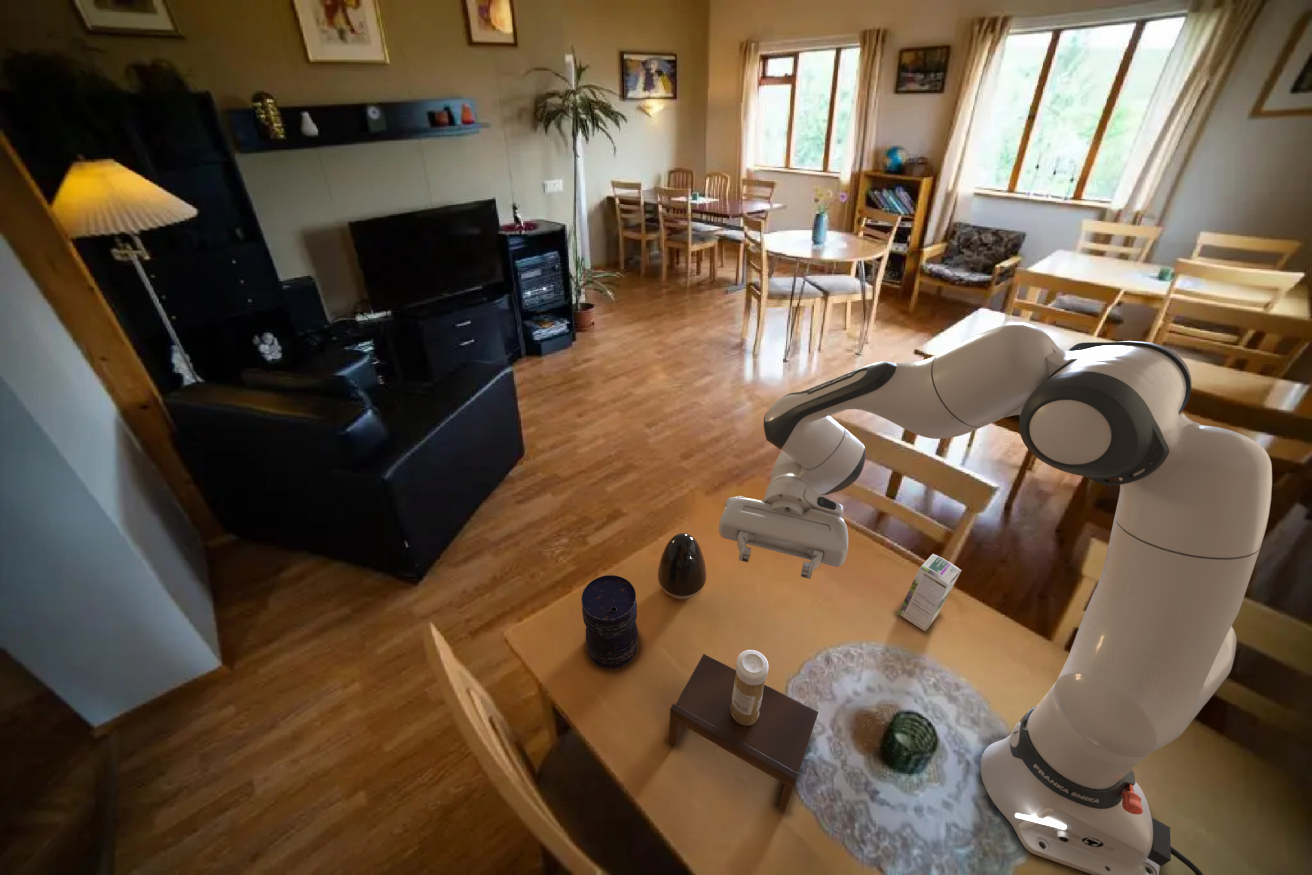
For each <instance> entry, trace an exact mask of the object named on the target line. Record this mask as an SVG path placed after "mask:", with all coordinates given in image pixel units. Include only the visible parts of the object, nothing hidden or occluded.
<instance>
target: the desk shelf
mask: <svg viewBox="0 0 1312 875" xmlns="http://www.w3.org/2000/svg"><path fill="white" fill-rule="evenodd" d="M735 677H736V668H733V667H731V666H729V665H727V664H725V663H724V662H721V661H720V660H717V659H715V658H713V657H711V656H710V655H707V654H705V653H703V654H702V656H701V658H700V660H699V661H698V663H697V664H696V667H695V669H694V670H693V672H692V674H691V675H690V677H689V679H688V681H687V683H686V685H685V687H684V688H683V690H682V692H681V694H680V695H679V697H678V699H677V701H676V703H672V705H671V706H670V709H669V743H671V744H673V745H674V746H677V744H678V742H679V740H680V738H681V736H682V734H683V733H684V730H685V729H686V728H687V729H689V730H690V731H692V732H694V733H695V734H697V735H699V736H701V737H702V738H704V739H705V740H708V741H709V742H711V743H713V744H715V745H716V746H717V747H720V748H722V749H723V750H725V751H727V752H728V753H730V754H733V756H735V757H737V758H739V759H740V760H742V761H744V762H745V763H748V764H750V765H751V766H753V767H755V768H756V769H757V770H759V771H762V772H763V773H765V774H766V775H769V776H770V777H771V778H774V779H775V780H777V781H779V782H781V783H782V784H784V786H783V789H782V792H781V796H780V798H779V801H778V805H777V808H779V809H781V810H782V811H784V812H786V811H787V808H788V806H789V802H790V799H791V796H792V794H793V790H794V787H795V785H796V782H797V779H798V776H799V773H800V770H801V767H802V764H803V760H804V757H805V754H806V752H807V748H808V745H809V743H810V739H811V736H812V733H813V730H814V727H815V724H816V722H817V718H818V716H819V710H816V709H814V708H812V707H810V706H808V705H807V704H804V703H802V702H800V701H799V700H796V699H794V698H792V697H790V696H788V695H786V694H784V693H783V692H780V691H778V690H777V689H774V688H773V687H770V686H768V685H766V684H765V683H764V688H763V695H762V701H761V705H760V708H759V717H758V719H757V721H756V722H755V723H754V724H752V725H748V726H745V725H741V724H739V723H737V722H736V721H735V720H734V719H733V717H732V715H731V712H730V707H731V703H732V695H733V688H734V681H735Z"/></svg>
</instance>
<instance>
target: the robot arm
mask: <svg viewBox="0 0 1312 875" xmlns="http://www.w3.org/2000/svg"><path fill="white" fill-rule="evenodd" d="M1192 386H1193V385H1192V376H1191V371H1190V369H1189V368H1188V365H1187V364H1186V362H1185V361H1184V359H1183V358H1182V357H1180V356H1179V355H1178V354H1177V353H1176V352H1175V351H1173V350H1171V349H1170V348H1167V347H1166V346H1163V345H1160V344H1158V343H1153V342H1147V341H1136V340H1134V341H1133V340H1127V341H1125V340H1123V341H1105V342H1104V341H1103V342H1102V341H1101V342H1100V341H1099V342H1096V341H1094V342H1093V341H1091V342H1090V341H1089V342H1088V341H1087V342H1086V341H1085V342H1078V343H1076V344H1074V345H1073V346H1071V347H1070V348H1069V349H1068V350H1064V349H1061V348H1060V347H1059V346H1058V345H1057V344H1056V343H1055V341H1054V340H1053V339H1052V338H1051V336H1049V334H1047V333H1046V332H1045V331H1044V330H1042V329H1041V328H1040V327H1038V326H1035V325H1032V324H1029V323H1026V322H1010V323H1006V324H1003V325H999V326H997V327H995V328H991V329H988V330H986V331H983V332H981V333H978V334H976V335H973V336H971V337H968V338H967V339H964V340H962V341H960V342H959V343H956V344H954V345H952V346H950V347H948V348H947V349H945V350H943V351H941V352H940V353H937V354H936V355H933V356H931V357H928V358H926V359H922V360H915V361H909V362H893V361H892V362H891V361H885V360H881V361H876V362H873V363H870V364H867V365H864V366H861V367H858V368H856V369H854V370H852V371H851V370H850V371H848V372H846V373H844V374H842V375H839V376H836V377H834V378H831V379H829V380H827V381H824V382H822V383H820V384H818V385H815V386H813V387H810V388H808V389H804V390H800V391H795V392H790V393H788V394H786V395H784V396H782V397H781V398H779V399H778V400H776V401H775V402H774V403H773V404H772V405H771V406H770V408H769V409H768V410H767V411H766V413H765V415H764V416H763V430H764V436H765V439H766V441H767V442H769V443H770V444H772V445H773V446H774V447H776V448H777V449H779V450H781V451H780V453H779V454H778V456H777V458H776V459H775V462H774V464H773V467H772V470H771V473H770V476H769V478H770V479H769V483H768V485H767V487H766V489H765V493H764V496H763V500H760V499H755V498H750V497H745V496H742V495H737V496H731V497H727V499H726V501H725V504H724V510H723V512H722V514H721V516H720V518H719V524H718V533H719V535H720V537H721V538H723V539H726V540H730V541H734V542H736V547H737V548H738V551H739V557H738V561H739V562H744V563H749V561H750V558H751V555H752V554H751V552H752V547H750V546H753V547H757V548H761V549H765V550H769V551H772V552H777V553H781V554H784V555H788V556H792V557H796V558H800V559H804V560H808V561H803V562H802V563H803V564H802V567H801V571H800V572H801V573H800V577H802V578H805V579H808V580H811V579H812V575H813V572H814V571H816V570H817V569H818V568H820V567H821V564H823V565H827V566H831V567H835V568H839V567H841V566H843V565H844V564H845V563H846V559H847V557H848V552H849V532H848V531H849V530H848V526H847V523H846V521H845V520H844V519H843V517H844V506H843V505H842V504H840V503H838V502H836V501H835V500H831V499H829V498H827V497H825V496H827V495H831V494H835V493H838V492H841V491H843V490H845V489H847V488H849V487H850V486H851V485H852V484H854V483H855V482H856V481H857V479H859V477H860V475H861V474H862V471H863V470H864V466H865V462H866V456H867V455H866V454H867V453H866V452H867V451H866V447H865V444H864V443H863V442H861V441H860V440H859V438H857V437H856V436H855V435H853V433H851V432H850V431H849V430H848V429H846V428H845V427H844V426H842V424H840V423H839V422H838V421H836V420H835V419H834V418H833V417H832V415H836V414H838V413H842V412H845V411H847V410H859V411H863V412H868V413H870V414H873V415H875V416H877V417H880V418H882V419H885V420H887V421H889V422H891V423H893V424H894V425H897V426H898V427H900V428H902V429H904V430H906V431H908V432H910V433H912V434H915V435H917V436H920V437H923V438H927V439H932V440H942V439H943V440H945V439H952V438H957V437H961V436H963V435H967V434H969V433H972V432H974V431H976V430H979V429H982V428H984V427H986V426H989V425H990V424H993V423H995V422H997V421H999V420H1002V419H1005V418H1009V417H1012V416H1019V422H1018V429H1019V430H1018V431H1019V436H1020V438H1021V441H1022V442H1023V443H1024V446H1025V447H1026V449H1027V450H1028V451H1029V452H1030V453H1031V454H1032V455H1033V456H1034V457H1035V458H1036V459H1038V460H1039V461H1041V462H1042V463H1043V464H1046V465H1048V466H1049V467H1051V468H1053V469H1057V470H1059V471H1062V472H1064V473H1068V474H1072V475H1075V476H1081V477H1085V478H1087V479H1089V480H1092V481H1094V482H1096V483H1097V484H1100V485H1104V486H1119V495H1118V499H1117V503H1116V508H1115V512H1114V513H1115V514H1114V517H1113V523H1112V527H1111V531H1110V536H1109V540H1108V546H1107V549H1106V555H1105V560H1104V564H1103V568H1102V571H1101V574H1100V577H1099V580H1098V582H1097V585H1096V587H1095V589H1094V591H1093V594H1092V596H1091V598H1090V600H1089V603H1088V605H1087V607H1086V609H1085V611H1084V613H1083V616H1082V619H1081V622H1080V624H1079V627H1078V629H1077V632H1076V634H1075V638H1074V640H1073V643H1072V645H1071V649H1070V651H1069V654H1068V656H1067V658H1066V660H1065V663H1064V665H1063V666H1062V669H1061V671H1060V673H1059V675H1058V677H1057V679H1056V681H1055V682H1054V684H1053V685H1052V686H1051V688H1050V689H1049V690H1048V691H1047V693H1046V694H1045V695H1044V696H1043V697H1042V699H1041V700H1040V701H1039V703H1038V704H1037V705H1035V706H1032V707H1031V708H1030V709H1029V710H1028V711H1027V712H1026V713H1025V714H1024V715H1023V716H1022V718H1021V719H1020V720H1019V721H1017V723H1016V724H1015V726H1014V727H1013V729H1012V731H1011V734H1009V735H1008V736H1006V737H1005V738H1003V739H1001V740H997V741H995V742H992V743H991V744H989V745H988V746H987V747H986V748H985V749H984V751H983V752H982V755H981V758H980V764H979V766H980V770H979V771H980V776H981V780H982V783H983V786H984V788H985V790H986V792H987V794H988V796H989V798H990V799H991V801H992V803H993V804H994V805H995V807H996V808H997V809H998V811H999V812H1000V813H1001V814H1002V815H1003V816H1004V817H1005V819H1006V820H1007V821H1008V822H1009V824H1010V825H1011V826H1012V827H1013V829H1014V831H1015V833H1016V836H1017V837H1018V839H1019V841H1020V843H1021V844H1022V846H1023V848H1025V849H1026V851H1027V852H1029V853H1031V855H1035V856H1038V857H1041V858H1044V859H1047V860H1050V861H1051V862H1055V863H1058V864H1061V865H1064V866H1066V867H1069V868H1072V869H1076V870H1078V871H1080V872H1084V873H1087V874H1090V875H1160V870H1161V868H1160V867H1163V866H1164V865H1166V864H1167V863H1169V862H1171V860H1172V856H1174V857H1175V858H1176V859H1178V861H1180V862H1182V863H1183V864H1184V865H1185V866H1187V868H1189V869H1190V870H1191V872H1193V873H1194V874H1195V875H1204V873H1203V872H1202V871H1201V869H1199V867H1198V866H1197V865H1196V864H1195V863H1194V862H1192V861H1191V860H1190V859H1189V858H1188V857H1186V856H1185V855H1184V854H1183V853H1181V852H1180V851H1178V850H1177V849H1175V848H1174V847H1173V846H1172V844H1171V827H1170V826H1168V825H1167V824H1165V823H1163V822H1161V821H1159V820H1158V819H1156V818H1154V817H1152V814H1151V810H1150V806H1149V803H1148V801H1147V798H1146V796H1145V794H1144V792H1143V789H1142V788H1141V787H1140V785H1139V784H1138V782H1137V781H1136V777H1135V776H1136V775H1135V773H1134V768H1136V767H1137V766H1138V765H1139V764H1140V763H1142V761H1144V760H1145V759H1146V758H1147V757H1148V756H1149V755H1151V754H1153V753H1154V752H1157V751H1159V750H1160V749H1162V748H1164V747H1165V746H1167V745H1169V744H1171V743H1172V742H1174V741H1175V740H1177V739H1178V738H1180V737H1181V736H1182V735H1183V733H1184V732H1185V731H1186V730H1187V729H1188V727H1189V726H1190V725H1191V724H1192V722H1193V721H1194V720H1195V718H1196V717H1197V715H1198V714H1199V713H1200V712H1201V710H1202V709H1203V708H1204V706H1206V705H1207V703H1208V702H1209V701H1210V700H1211V698H1212V697H1213V696H1214V694H1215V693H1216V692H1217V691H1218V690H1219V688H1220V687H1221V685H1222V684H1223V683H1224V682H1225V680H1226V679H1227V678H1228V677H1229V675H1230V673H1231V671H1232V669H1233V665H1234V661H1235V657H1236V651H1237V644H1238V643H1237V641H1238V640H1237V635H1236V632H1235V629H1234V628H1233V624H1234V623H1235V621H1236V619H1237V617H1238V615H1239V613H1240V611H1241V608H1242V604H1243V601H1244V598H1245V595H1246V592H1247V589H1248V587H1249V583H1250V580H1251V577H1252V574H1253V571H1254V569H1255V565H1256V563H1257V560H1258V557H1259V553H1260V550H1261V547H1262V544H1263V540H1264V537H1265V534H1266V530H1267V525H1268V522H1269V516H1270V510H1271V503H1272V493H1273V492H1272V490H1273V488H1272V487H1273V466H1272V465H1273V464H1272V461H1271V458H1270V456H1269V453H1267V451H1266V449H1265V448H1264V447H1263V446H1262V445H1261V444H1259V443H1258V442H1257V441H1255V440H1254V439H1252V438H1250V436H1249V437H1248V436H1246V435H1244V434H1242V433H1239V432H1237V431H1235V430H1231V429H1227V428H1225V427H1223V428H1222V427H1218V426H1214V425H1213V426H1212V425H1203V424H1201V423H1199V422H1196V421H1194V420H1192V419H1190V418H1189V417H1188V416H1187V415H1186V414H1185V413H1184V412H1183V410H1185V407H1186V406H1187V404H1188V402H1189V400H1190V397H1191V392H1192ZM1110 479H1111V480H1112V479H1119V480H1115V481H1110ZM747 545H748V546H747Z"/></svg>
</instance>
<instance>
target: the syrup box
mask: <svg viewBox="0 0 1312 875" xmlns="http://www.w3.org/2000/svg"><path fill="white" fill-rule="evenodd" d="M961 572H962V569H960V568H959V567H957V565H954V564H953V563H952V562H950V561H948V560H946V559H945V558H943V557H941V556H939V555H937V554H934V553H932V554H931V555H930V556H929V557H928V558H927V559H926V560H925V562H923V564H921V566H920V567H919V568H918V570H917V571H916V574H915V577H914V578H913V581H912V583H911V585H910V587H909V589H908V591H907V593H906V596H905V597H904V600H903V603H902V605H901V606H900V609H899V611H898V615H899V616H901V617H902V618H904V619H905V620H907V621H908V622H909V623H912V625H914V626H916V627H917V628H919V629H921V630H922V631H923V632H926V631H927V630H928V629H929V627H930V626H931V625H932V623H933V622H934V621H935V620H936V618H937V617H938V615H939V614H940V613H941V610H942V608H943V606H944V604H945V603H946V601H947V599H948V597H949V595H950V594H951V591H952V589H953V587H954V586H955V584H956V581H957V580H958V578H959V576H960V574H961Z"/></svg>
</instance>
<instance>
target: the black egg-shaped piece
mask: <svg viewBox="0 0 1312 875" xmlns="http://www.w3.org/2000/svg"><path fill="white" fill-rule="evenodd" d="M657 580H658V584H659V585H660V587H661V588H662V590H663V591H664V593H666V594H667V595H668V596H669V597H671V598H674V599H677V600H689V599H691V598H693V597H695V596H697V595H698V593H699V592H700V591H701V590H702V589H703V587H704V586H705V585H706V582H707V567H706V561H705V556H704V553H703V551H702V549H701V547H700V545H699V542H698V541H697V540H696V539H695V537H693V536H692V535H690V534H689V533H686V532H681V533H677V534H675V535H674V536H672V537H671V539H669V541H668V542H667V544H666V545H665V547H664V549H663V552H662V554H661V557H660V560H659V564H658V569H657Z"/></svg>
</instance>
